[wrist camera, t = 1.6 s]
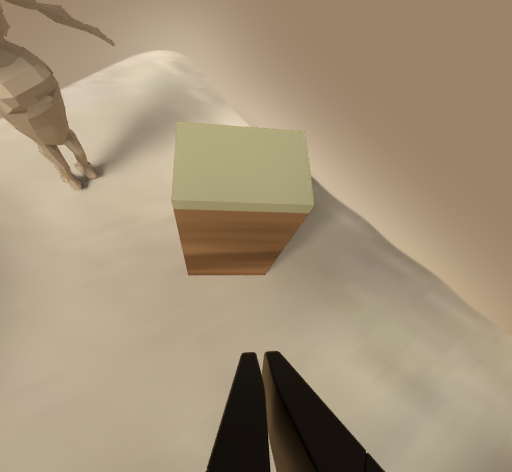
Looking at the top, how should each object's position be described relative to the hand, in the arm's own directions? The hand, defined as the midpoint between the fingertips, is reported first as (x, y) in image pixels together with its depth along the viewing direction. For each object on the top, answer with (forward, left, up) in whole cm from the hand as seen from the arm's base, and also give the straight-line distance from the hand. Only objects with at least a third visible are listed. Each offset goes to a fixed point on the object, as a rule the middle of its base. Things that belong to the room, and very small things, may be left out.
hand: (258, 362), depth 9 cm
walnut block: (+5, -7, -14) cm, 16 cm away
